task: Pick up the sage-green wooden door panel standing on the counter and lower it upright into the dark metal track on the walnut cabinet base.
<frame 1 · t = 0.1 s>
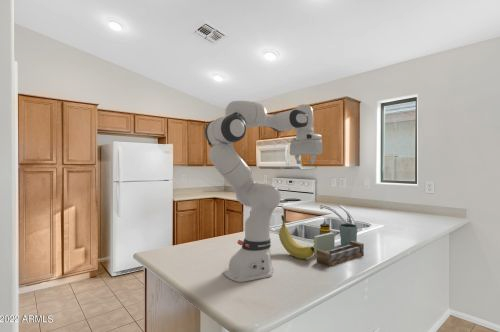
hand: (305, 163, 139), 48 cm above the table, tool pointing down, fingers open, 8 cm apart
banana: (296, 256, 140), on the table
door panel: (324, 253, 145), on the table
grey-green cup: (348, 245, 158), on the table
condiment: (324, 244, 161), on the table
track base: (341, 258, 136), on the table
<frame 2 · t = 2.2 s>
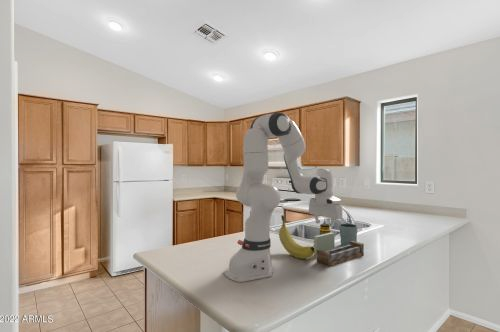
hand: (324, 224, 145), 15 cm above the table, tool pointing down, fingers open, 8 cm apart
nothing on the table moved.
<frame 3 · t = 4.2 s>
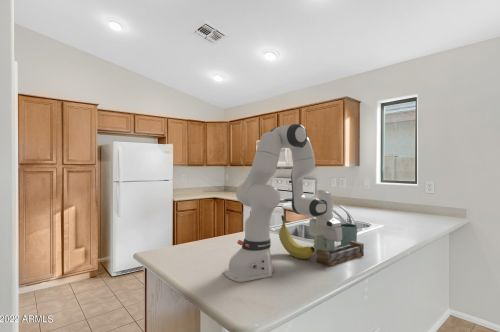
hand: (324, 246, 145), 4 cm above the table, tool pointing down, fingers closed on door panel, 2 cm apart
door panel: (324, 253, 145), on the table, touching gripper
everything else where it was.
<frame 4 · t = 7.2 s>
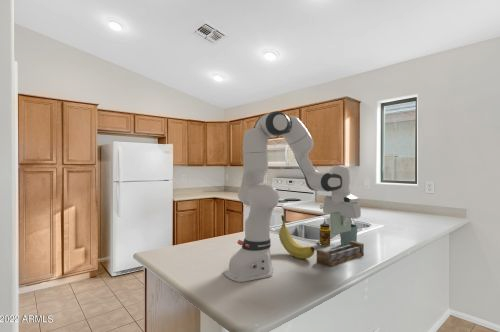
hand: (340, 224, 136), 17 cm above the table, tool pointing down, fingers closed on door panel
door panel: (340, 231, 136), point 13 cm above the table, touching gripper
everything else where it was.
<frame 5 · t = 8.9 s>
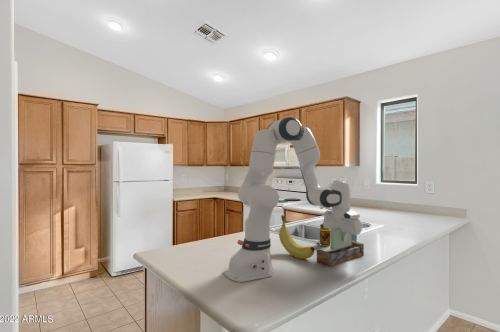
hand: (341, 240, 136), 9 cm above the table, tool pointing down, fingers closed on door panel
door panel: (341, 247, 136), point 6 cm above the table, touching gripper
everything else where it was.
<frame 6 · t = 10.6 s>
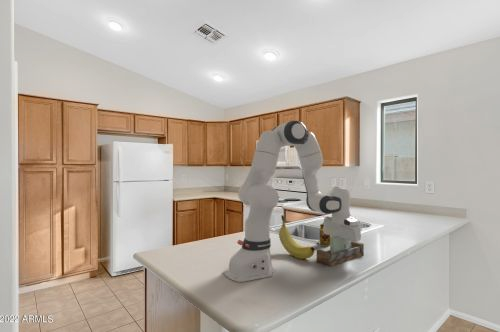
hand: (340, 246, 136), 6 cm above the table, tool pointing down, fingers open, 5 cm apart
door panel: (341, 255, 136), point 1 cm above the table, touching track base
everything else where it was.
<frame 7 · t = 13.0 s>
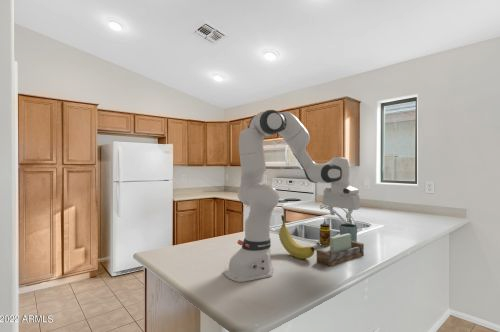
hand: (340, 216, 136), 21 cm above the table, tool pointing down, fingers open, 8 cm apart
nothing on the table moved.
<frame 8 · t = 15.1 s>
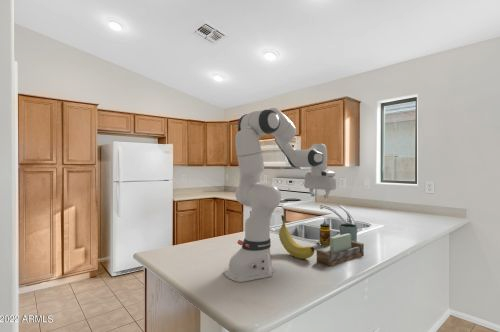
hand: (319, 197, 151), 29 cm above the table, tool pointing down, fingers open, 8 cm apart
nothing on the table moved.
at the end: door panel 0.0 cm off-centre on the track base, point 1.5 cm above the track base's base; door panel tilted 0°; the gripper is holding nothing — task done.
